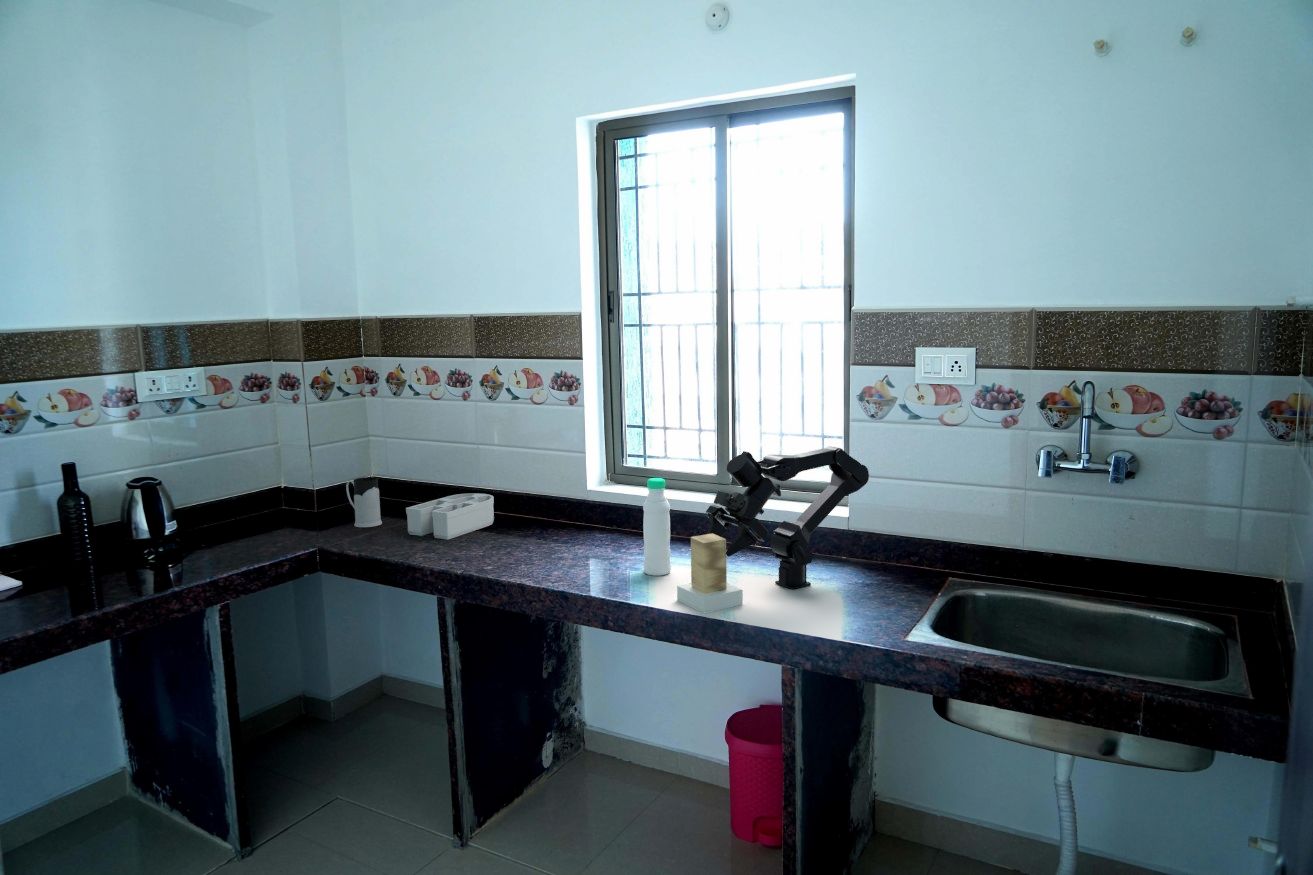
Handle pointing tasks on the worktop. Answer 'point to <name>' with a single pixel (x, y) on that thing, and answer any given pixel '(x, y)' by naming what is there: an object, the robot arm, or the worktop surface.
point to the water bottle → (656, 529)
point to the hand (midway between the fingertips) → (715, 550)
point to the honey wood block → (708, 563)
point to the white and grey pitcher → (366, 502)
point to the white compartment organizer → (451, 515)
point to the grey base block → (709, 598)
